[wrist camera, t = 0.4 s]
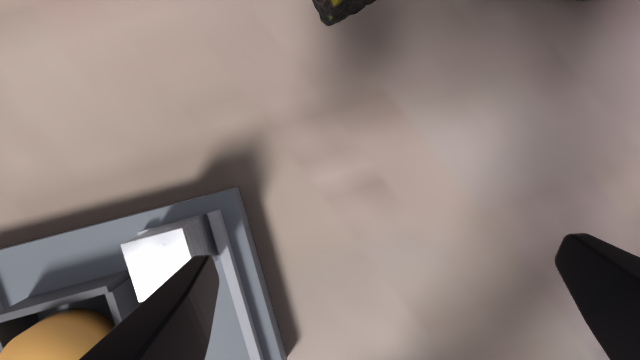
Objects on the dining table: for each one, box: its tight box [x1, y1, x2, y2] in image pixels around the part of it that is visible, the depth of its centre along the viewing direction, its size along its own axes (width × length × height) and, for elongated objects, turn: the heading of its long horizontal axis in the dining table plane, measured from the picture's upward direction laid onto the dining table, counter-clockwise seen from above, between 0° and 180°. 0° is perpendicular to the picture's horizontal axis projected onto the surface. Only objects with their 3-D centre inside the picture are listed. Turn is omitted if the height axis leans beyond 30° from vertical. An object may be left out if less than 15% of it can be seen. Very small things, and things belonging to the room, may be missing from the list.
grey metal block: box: [121, 214, 218, 302], centre depth 17 cm, size 3×3×4 cm
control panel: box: [0, 186, 287, 360], centre depth 19 cm, size 13×28×4 cm, turn 104°
